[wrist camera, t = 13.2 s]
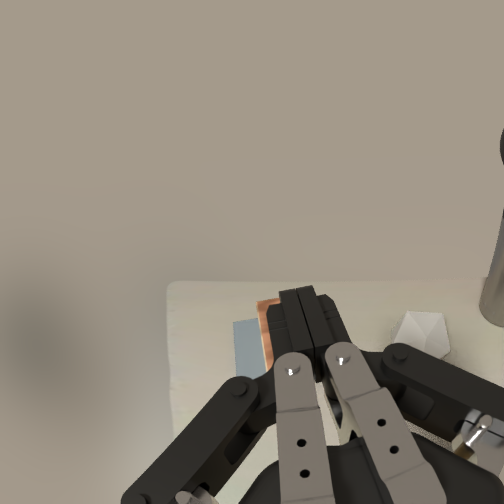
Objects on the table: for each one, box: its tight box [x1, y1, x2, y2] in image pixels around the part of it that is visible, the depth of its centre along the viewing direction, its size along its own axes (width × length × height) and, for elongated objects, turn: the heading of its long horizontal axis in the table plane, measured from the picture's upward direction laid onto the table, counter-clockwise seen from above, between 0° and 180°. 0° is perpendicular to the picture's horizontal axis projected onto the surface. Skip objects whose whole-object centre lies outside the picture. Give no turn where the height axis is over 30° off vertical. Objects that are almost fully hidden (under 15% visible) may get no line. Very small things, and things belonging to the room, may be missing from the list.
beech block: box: [256, 298, 280, 372], centre depth 44 cm, size 5×5×14 cm
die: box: [391, 311, 450, 359], centre depth 38 cm, size 8×9×10 cm
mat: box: [233, 318, 315, 379], centre depth 47 cm, size 14×14×1 cm
